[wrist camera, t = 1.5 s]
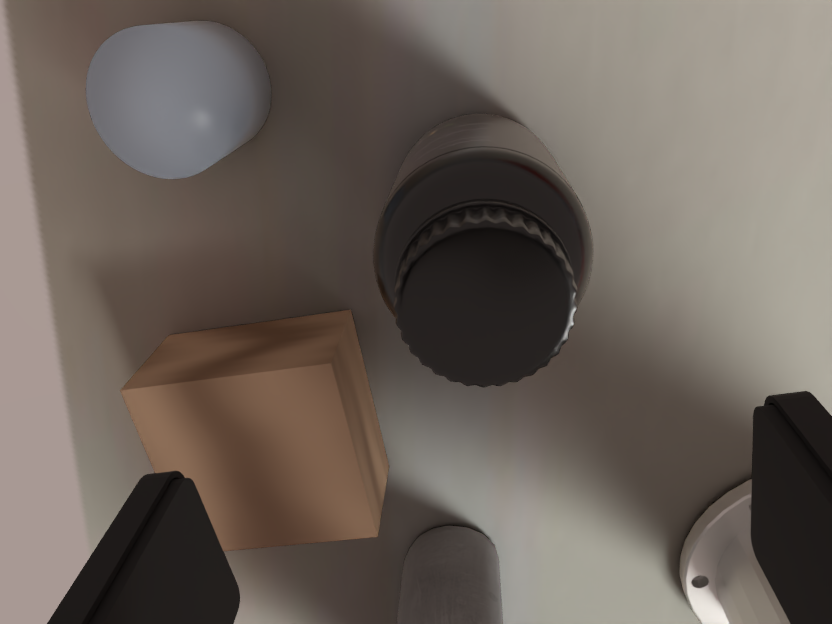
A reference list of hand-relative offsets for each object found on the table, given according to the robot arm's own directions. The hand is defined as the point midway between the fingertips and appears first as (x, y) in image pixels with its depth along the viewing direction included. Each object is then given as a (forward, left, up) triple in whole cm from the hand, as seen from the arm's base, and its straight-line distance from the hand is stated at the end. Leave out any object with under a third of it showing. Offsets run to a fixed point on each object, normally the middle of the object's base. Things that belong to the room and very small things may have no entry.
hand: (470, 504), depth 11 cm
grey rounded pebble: (+10, -6, -19) cm, 22 cm away
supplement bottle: (0, 0, -19) cm, 19 cm away
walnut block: (+11, +9, -19) cm, 23 cm away
